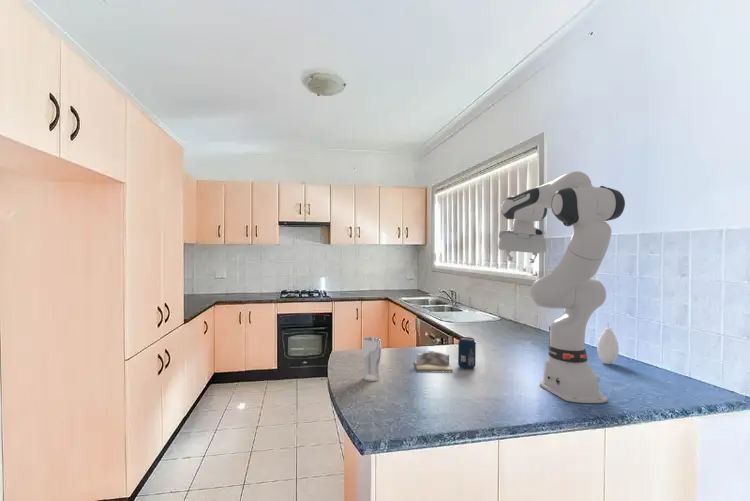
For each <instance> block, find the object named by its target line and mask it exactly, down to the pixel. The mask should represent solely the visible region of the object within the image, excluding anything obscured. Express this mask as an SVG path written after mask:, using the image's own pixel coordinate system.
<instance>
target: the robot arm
mask: <svg viewBox="0 0 750 501" xmlns="http://www.w3.org/2000/svg"><path fill="white" fill-rule="evenodd" d="M625 200H626V199H625V197H624V195H623V193H621V191H619V190H618V189H614V188H611V187H607V186H604V185H601V186H598V187H597V186H593V185H592V181H591V179H590V177H589V175H587V174H586V173H585V172H582V171H572V172H568V173H566V174H562V175H560V176H559V177H557V178H556V179H554V180H552V181H549V182H547V183H545V184H542V185H539V186H536V187H532V188H530V189H528V190H525V191H523V192H521V193H518V194H517V195H516V194H515V195H509V196H507V197H505V198H504V199H503V201H502V203H501V207H500V211H501V214H502V215H503V217H504V218H505V219H506V220H513V222H512V230H511V229H502V230H500V231H499V232H498V238H499V240H498V246H497V247H498V249H499V251H505V253H506V256H507V257H508V258H507V259H508V261H509V262H512V261H513V260H514V259H513V258H514V257H513V256H512V255H511V252H517V253H518V252H520V253H531V254H532V258H529V263H530V264H534V263H535V259H536V258H537V256H538V254H541V255H542V254H545V253H546V252H547V240H546V237H545V234H546V232H545V231H544V230H543V229H540V228H537V227H535V224H534V222H541V221H543V219H544V218H546V217H547V215H548V209H551V212H552V214H553V215H554V217H555V218H557V220H559V222H562V223H563V225H564V226H565V227H571V226H572V227H573V233H572V236H571V238H570V240H569V242H568V245H567V248H566V250H565V251H564V254H563V256H562V257H561V258H562V259H561V260H560V262H559V263H558V265H556V266H555V268H553V270H552V271H550V272H549V273H548V274H546V275H544V276H543V277H540V278H537V279H536V280H535V281H534V282H533V283H532V285H531V287H530V298H531V300H532V302H533V303H534V304H535V305H536V306H538V307H542V308H545V309H546V308H547V309H561V310H562V309H565V310H564V312H563V314H562V315H561V316H560V317H559V318H557V319H554V320H553V321H552V322H551V324H550V326H551V327H550V345H549V344H548V350H547V351H548V356H549V357H548V359H547V360H546V361H545V363H544V369H543V380H542V381H541V382H539V386H540V387H542V388H543V389H545V390H546V391H548V392H550V393H552V394H553V395H555V396H556V397H559V398H560V399H562V400H563V401H567V402H571V403H579V404H580V403H582V404H604V403H606V402H608V397H606V395H604V394H603V392H602V391H600V389H599V388H600V386H599V383H600V376H599V375H595V373H594V371H593V369H592V368H591V366H590V365H589V364H590V363H588V354H587V349H586V348H585V341H586V340H585V338H586V328H587V324H588V322H589V320H590V318H591V316H592V315H593V313H594V312H595V311H596V310H597V309H598V308H600V307H601V306H603V304H604V303H605V301H606V299H607V290H606V288H605V286H604V284H603V283H602V282H601V281H599V280H596V279H594V278H593V277H594V276H595V275H596V274H597V273H598V270H599V268H600V266H601V264H602V262H603V260H604V258H605V256H606V253H607V251H608V248H609V245H610V241H611V237H612V227H611V225H610V224H609V223H608V222H607V221H612V220H616V219H619V218H620V217H621V215H622V214H623V213H624V210H625V208H626V202H625ZM592 278H593V279H592Z"/></svg>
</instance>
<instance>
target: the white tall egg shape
mask: <svg viewBox="0 0 750 501" xmlns="http://www.w3.org/2000/svg"><path fill="white" fill-rule="evenodd" d="M609 326H610V325H609V322H607V327H605V328H604V330H603V331H602V332H601V333H600V335H599V338H598V340H597V344H596V345H597V346H596V350H597V356H598V357H599V359H600V361H602V363H605V365H611V364H613V363H615V362H616V361H617V359H618V356H619V351H620V350H619V349H620V347H619V344H618V340H617V338H616V335H615V333H614V332H613V330H612V328H610V327H609Z"/></svg>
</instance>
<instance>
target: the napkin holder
mask: <svg viewBox="0 0 750 501" xmlns="http://www.w3.org/2000/svg"><path fill="white" fill-rule="evenodd" d="M415 358H416V359H414V364H415V368H417V369H416V372H417V371H444V372H443V373H453V370H454V369H453V367H452V366H451V364H450V354H447V353H444V352H440V351H435V350H428V351H424V352H420V353H417V354H416V357H415ZM446 371H447V372H446ZM449 371H450V372H449Z"/></svg>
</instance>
